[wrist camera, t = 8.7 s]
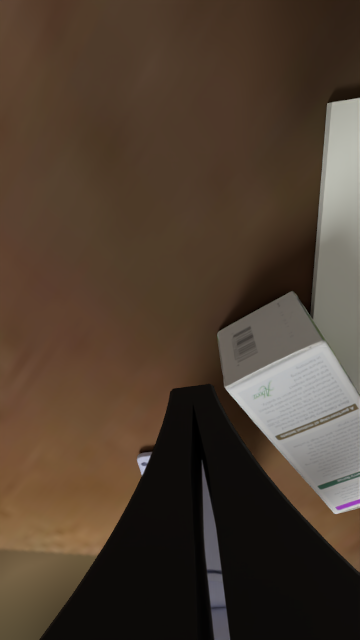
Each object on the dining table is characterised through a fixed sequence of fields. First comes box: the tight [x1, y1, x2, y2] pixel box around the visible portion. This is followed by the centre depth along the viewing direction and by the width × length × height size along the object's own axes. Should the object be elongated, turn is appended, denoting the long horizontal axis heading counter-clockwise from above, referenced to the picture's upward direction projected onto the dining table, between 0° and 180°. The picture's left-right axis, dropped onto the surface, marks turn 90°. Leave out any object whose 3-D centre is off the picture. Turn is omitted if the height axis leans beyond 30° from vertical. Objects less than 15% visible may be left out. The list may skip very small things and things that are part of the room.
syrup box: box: [217, 291, 360, 514], centre depth 21 cm, size 6×6×14 cm
